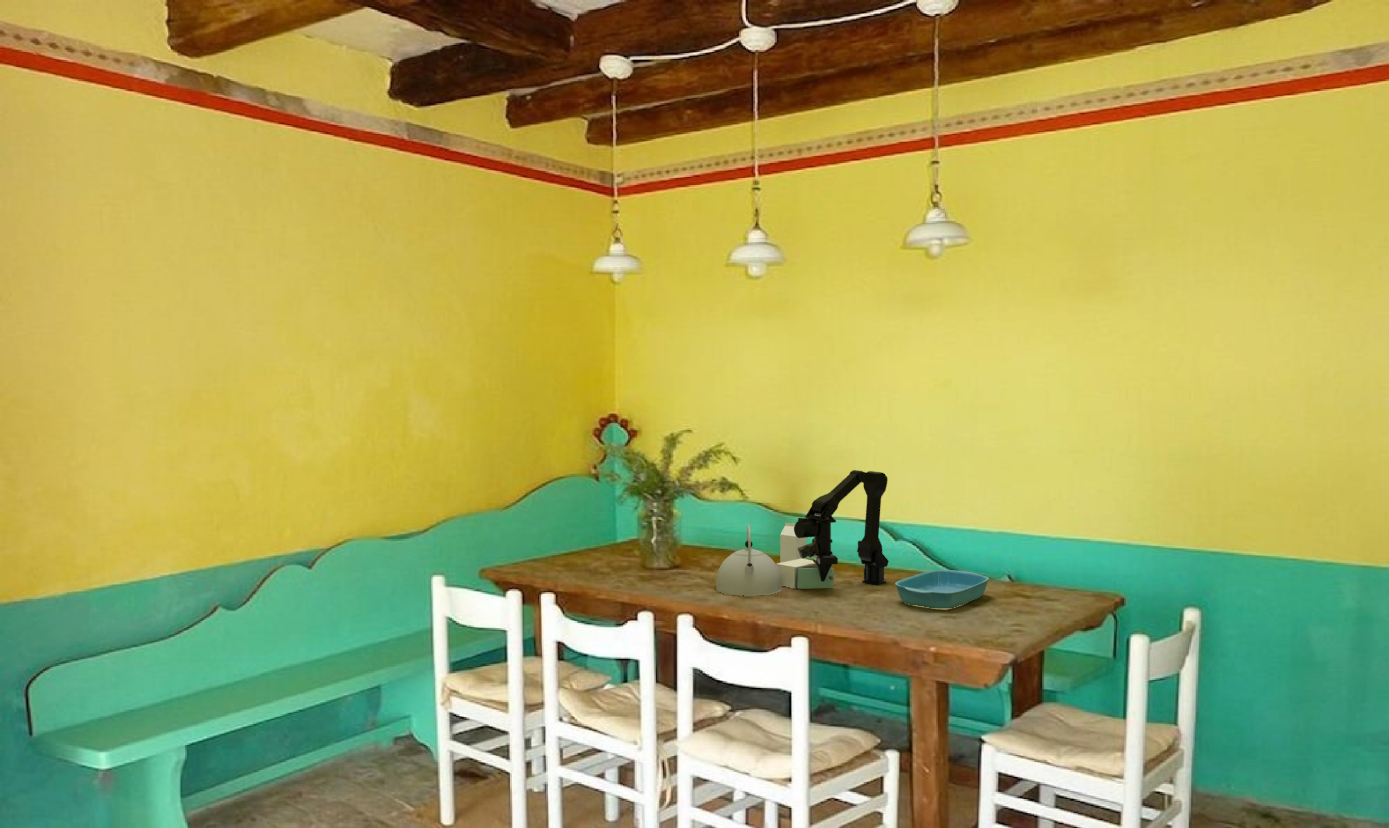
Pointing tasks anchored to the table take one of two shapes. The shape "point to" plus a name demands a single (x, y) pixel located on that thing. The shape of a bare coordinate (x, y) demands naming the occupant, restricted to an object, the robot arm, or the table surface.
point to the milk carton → (790, 544)
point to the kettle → (748, 573)
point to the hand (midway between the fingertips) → (822, 581)
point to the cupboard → (793, 571)
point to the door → (814, 578)
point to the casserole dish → (941, 588)
